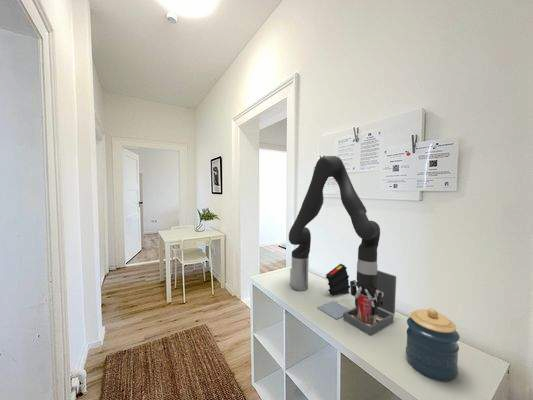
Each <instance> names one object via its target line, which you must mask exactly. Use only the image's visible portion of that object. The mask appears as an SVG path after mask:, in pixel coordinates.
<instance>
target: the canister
mask: <svg viewBox="0 0 533 400" xmlns="http://www.w3.org/2000/svg"><path fill="white" fill-rule="evenodd" d="M406 323H407V326H408V327H407V328H406V346H405V354H406V355H405V356H406V359H407V361H408V363H409V364H410V365H411V366H412V368H414V369H415V370H416V371H418V372H419V373H420V374H422V375H423V376H426V377H428V378H430V379H433V380H436V381H442V382H451V381H454V380H456V378H457V375H458V373H459V367H458V357H459V352H460V351H459V350H460V347H459V344H458V341H460V334H459V333H458V331H457V326H456V323H454V322H453V321H452V320H450V318H448V317H447V316H446V315H444V314H442V313H439V312H437V310H436V309H434V308H429V309H417V310H413V311H412V312H411V313H410V316H409V317H408V318H407V319H406Z"/></svg>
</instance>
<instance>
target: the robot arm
mask: <svg viewBox="0 0 533 400" xmlns="http://www.w3.org/2000/svg"><path fill="white" fill-rule="evenodd" d="M329 178H333V179H334V180H335V182H336V184H337V186H338V188H339V193H340V200H341V203H342V205H343V207H344V209H345V211H346V213H347V215H348V216H349V217H350V220H351V223H352V227H353V229H354V232H355V233H356V235H357V236H358V237H359V238H360V239H361V242H360V244H359V245H358V248H357V249H358V250H357V262H356V279H352V280H350V281H349V286H350V288H349V289H350V295H351V297H352V296H353V297H354V305H355V306H354V307H357V305H358V295H359V293H361V294H363V295H365V296H368V299H369V301H371V304H372V306H371V315H372V316H374V317H375V316H377V315H376V314H377V307H378V308H379V307H381V306H383V301H384V294H385V293H384V292H383V291H382V292H381V291H379V290H377V287H376V285H377V272H378V248H379V242H380V237H381V228H380V225H379V224H378V223H377V222H376V221H374V220H369V218H368V215H367V213H368V212H367V211H368V210H367V209H366V206H365V204H364V203H363V202H362V200H361V198H360V197H359V195H358V194H357V192H356V190H355V188H354V186H353V183H352V180H351V179H350V176H349V173H348V172H347V169H346V166H345V164H344V162H343V161H342V159H341V157H339V156H337V155H325V156H321V157H320V158H318V160H317V161H316V162H315V166H314V170H313V173H312V177H311V179H310V183H309V186H308V189H307V191H306V194H305V197H304V198H303V201H302V204H301V207H300V208H299V209H300V210H299V211H298V213H297V216H296V218H295V220H294V222H293V224H292V226H291V228H290V230H289V233H288V241H289V243H290V244H291V245H293V246H297V247H296V248H295V249H293V250H292V251H291V268H290V269H289V270H290V273H289V286H290V287H291V289H292V290H295V291H298V292H303V291H304V292H305V291H307V290H308V289H309V263H310V261H309V259H310V252H311V239H312V236H311V235H312V234H311V230H310V228H308V227H306V226H307V225H308V224H309V223H310V222H312V221H313V220H314V219H315V218H316V217H317V216H318V215H319V213H320V211H321V210H322V206H324V205H323V204H324V187H325V185H326V182H327V180H328V179H329ZM375 293H377V296H378V297H376V295H375ZM371 296H373V298H372V297H371Z"/></svg>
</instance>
